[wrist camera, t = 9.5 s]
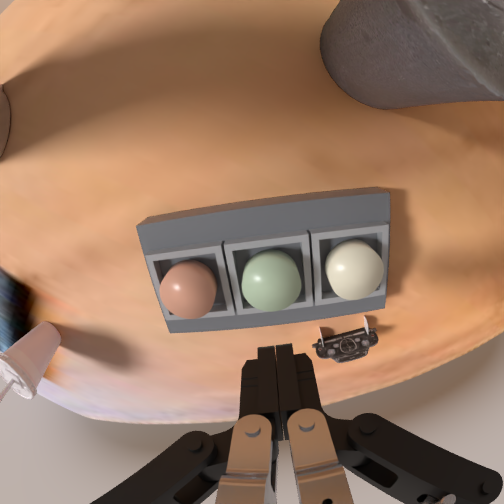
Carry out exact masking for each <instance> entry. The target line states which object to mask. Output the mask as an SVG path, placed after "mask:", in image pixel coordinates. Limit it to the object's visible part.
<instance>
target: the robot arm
mask: <svg viewBox="0 0 504 504" xmlns="http://www.w3.org/2000/svg"><path fill="white" fill-rule="evenodd" d="M9 127H10V107H9V102H8V99H7V97H6V95H5V94H4V93H3V85H2V84H0V157H1V155H2V153H3V151H4V148H5V145H6V142H7V138H8V134H9ZM276 358H277V360H276ZM282 424H283V426H282ZM283 429H284V436H285V440H289V441H290V450H291V457H292V463H293V468H294V473H295V479H296V485H297V491H298V497H299V503H300V504H354V503H353V499H352V495H351V492H350V488H349V485H348V482H347V478H346V474H345V471H344V468H343V466H344V467H345V468H346V469H348V470H349V471H351V472H352V473H354V474H355V475H357V476H358V477H360V478H362V479H363V480H365V481H367V482H368V483H370V484H371V485H373V486H375V487H377V488H378V489H380V490H382V491H383V492H385V493H386V494H388V495H390V496H392V497H394V498H395V499H397V500H399V501H401V502H403V503H405V504H490V503H491V502H492V501H494V500H495V499H496V498H497V497H498V496H499V494H500V492H501V490H502V486H503V481H502V477H501V476H500V474H499V473H498V472H496V471H494V470H491V469H489V468H486V467H484V466H481V465H479V464H477V463H474V462H472V461H469V460H467V459H465V458H462V457H460V456H458V455H456V454H454V453H451V452H449V451H447V450H445V449H443V448H441V447H438V446H436V445H434V444H432V443H430V442H428V441H426V440H424V439H422V438H420V437H418V436H416V435H414V434H412V433H410V432H408V431H406V430H405V429H403V428H401V427H399V426H397V425H395V424H393V423H391V422H390V421H388V420H386V419H384V418H382V417H381V416H379V415H377V414H373V413H364V414H361V415H358V416H357V417H355V418H354V419H353V420H341V419H335V418H332V417H330V416H328V415H327V414H326V413H325V412H324V411H323V409H322V407H321V403H320V398H319V393H318V388H317V383H316V379H315V374H314V369H313V364H312V360H311V359H310V358H309V357H308V356H307V355H306V353H302V354H295V355H294V354H293V348H292V343H290V344H283V345H276V354H275V347H274V346H267V347H259V348H258V359H254V360H247V361H246V363H245V365H244V366H243V368H242V376H241V393H240V412H239V418H238V421H237V422H236V424H235V425H234V426H233V427H232V428H230V429H229V430H227V431H225V432H222V433H218V434H215V435H212V436H210V435H209V434H207V433H205V432H202V431H192V432H189V433H186V434H185V435H183V436H182V437H181V438H180V439H178V440H177V441H176V442H175V443H173V444H172V445H171V446H170V447H168V448H167V449H166V450H165V451H163V452H162V453H161V454H160V455H158V456H157V457H156V458H155V459H153V460H152V461H151V462H150V463H148V464H147V465H146V466H144V467H143V468H141V469H140V470H139V471H137V472H136V473H134V474H133V475H132V476H130V477H129V478H128V479H126V480H125V481H123V482H122V483H120V484H119V485H118V486H116V487H115V488H113V489H112V490H110V491H109V492H107V493H106V494H104V495H103V496H101V497H100V498H98V499H97V500H95V501H93V502H92V503H90V504H200V503H202V502H203V501H204V500H205V499H206V498H208V497H209V496H210V495H211V494H212V493H213V492H214V491H215V490H216V489H218V491H217V497H216V502H215V504H277V499H276V490H277V470H278V454H279V449H278V441H282V440H283Z"/></svg>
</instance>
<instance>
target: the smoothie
mask: <svg viewBox="0 0 504 504" xmlns="http://www.w3.org/2000/svg"><path fill="white" fill-rule="evenodd" d="M60 343H61V336H60V334H59V332H58V330H57V329H56V328H55V327H54V326H53V325H52V324H51V323H49V322H46V321H43V322H42V323H40V324H39V325H38V326H36V327H35V328H34V329H33V330H31V331H30V332H29V333H27V334H26V335H25V336H24V337H22V338H21V339H20V340H19V341H17V342H16V343H15V344H14V345H12V346H11V347H10V348H9V349H8V350H6V351H5V352H4V353H0V375H1V377H2V378H3V380H4V381H5V382H6V383H7V385H6V386H5V388H4V389H3V390H2V392H1V393H0V402H1V401H2V399H3V398H4V396H5V395H6V393H7V392H8V391H9V389H10V388H12V389H13V390H14V391H15V392H16V393H17V394H19V395H20V396H22V397H24V398H26V399H33V398H34V396H35V395H36V394H37V390H36V388H37V386H38V384H39V382H40V380H41V378H42V376H43V374H44V372H45V370H46V368H47V367H48V365H49V363H50V361H51V359H52V357H53V355H54V354H55V352H56V350H57V348H58V346H59V345H60Z"/></svg>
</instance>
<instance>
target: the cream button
mask: <svg viewBox="0 0 504 504" xmlns="http://www.w3.org/2000/svg"><path fill="white" fill-rule="evenodd" d="M325 272H326V275H327V278H328V280H329V282H330V284H331V287H332V289H333V290H334V292H335V293H336V294H337V295H338V296H340V297H341V298H343V299H347V300H358V299H362V298H364V297H367V296H368V295H370V294H371V293H372V292H374V291H375V290H376V288H377V287H378V286H379V284H380V282H381V280H382V278H383V273H384V266H383V262H382V260H381V258H380V256H379V255H378V254H377V253H376V252H375V251H374V250H373V249H372V248H371V247H370V246H369V245H368V244H367V243H366V242H364V241H362V240H359V239H348V240H345V241H342V242H340V243H339V244H337V245H336V246H335V247H334V248H333V249H332V250H331V251H330V252H329V254H328V256H327V258H326V261H325Z"/></svg>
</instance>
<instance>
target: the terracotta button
mask: <svg viewBox="0 0 504 504" xmlns="http://www.w3.org/2000/svg"><path fill="white" fill-rule="evenodd" d="M217 287H218V284H217V279H216V277H215V275H214V273H213V272H212V270H211V269H210V268H209V267H208V266H206V265H205V264H203V263H201V262H199V261H196V260H182V261H179V262H177V263H175V264H174V265H173V266H172V267H171V268H170V269H169V271H168V272H167V274H166V276H165V277H164V279H163V280H162V282H161V285H160V290H159V292H160V298H161V300H162V302H163V304H164V305H165V307H166V308H167V309H168V310H169V311H170V312H171V313H173V314H175V315H176V316H179V317H181V318H185V319H197V318H200V317H203V316H204V315H206V314H207V313H208V312H209V311H210V310H211V308H212V306H213V303H214V300H215V296H216V292H217Z"/></svg>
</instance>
